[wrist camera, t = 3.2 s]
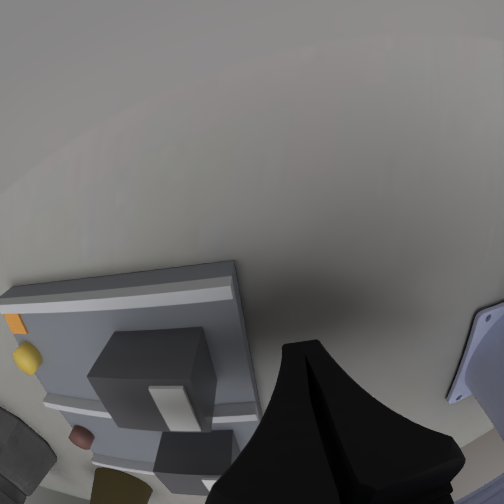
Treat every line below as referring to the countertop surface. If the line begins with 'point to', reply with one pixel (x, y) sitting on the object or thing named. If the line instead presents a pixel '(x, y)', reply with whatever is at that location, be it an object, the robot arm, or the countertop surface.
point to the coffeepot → (21, 459)
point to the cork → (118, 488)
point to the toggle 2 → (194, 460)
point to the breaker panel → (131, 319)
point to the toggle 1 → (157, 380)
